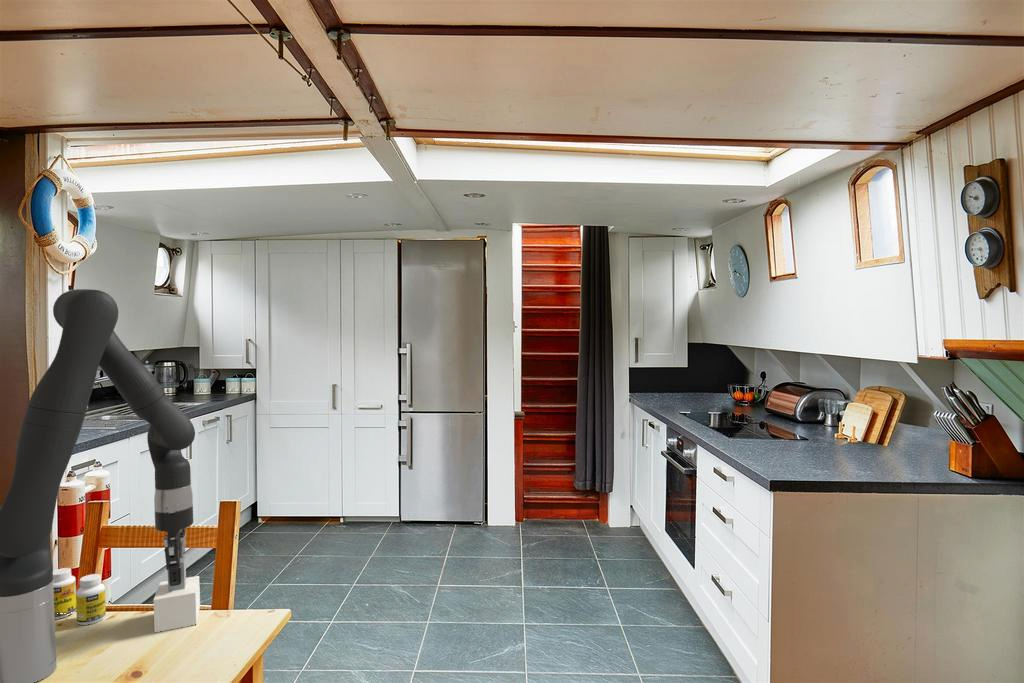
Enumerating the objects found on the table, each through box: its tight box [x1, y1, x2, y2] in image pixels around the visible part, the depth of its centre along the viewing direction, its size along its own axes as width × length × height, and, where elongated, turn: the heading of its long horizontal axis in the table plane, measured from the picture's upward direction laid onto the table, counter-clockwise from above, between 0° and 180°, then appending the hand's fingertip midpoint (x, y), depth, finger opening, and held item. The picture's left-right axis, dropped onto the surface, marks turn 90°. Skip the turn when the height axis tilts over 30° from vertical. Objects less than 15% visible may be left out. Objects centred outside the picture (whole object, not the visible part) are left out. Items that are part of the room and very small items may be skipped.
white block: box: [153, 556, 201, 633], centre depth 135 cm, size 8×10×13 cm
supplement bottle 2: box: [75, 573, 107, 626], centre depth 135 cm, size 5×5×10 cm
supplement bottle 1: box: [53, 567, 77, 620], centre depth 138 cm, size 6×6×10 cm
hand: (176, 581), depth 135 cm, fingers open, 3 cm apart
